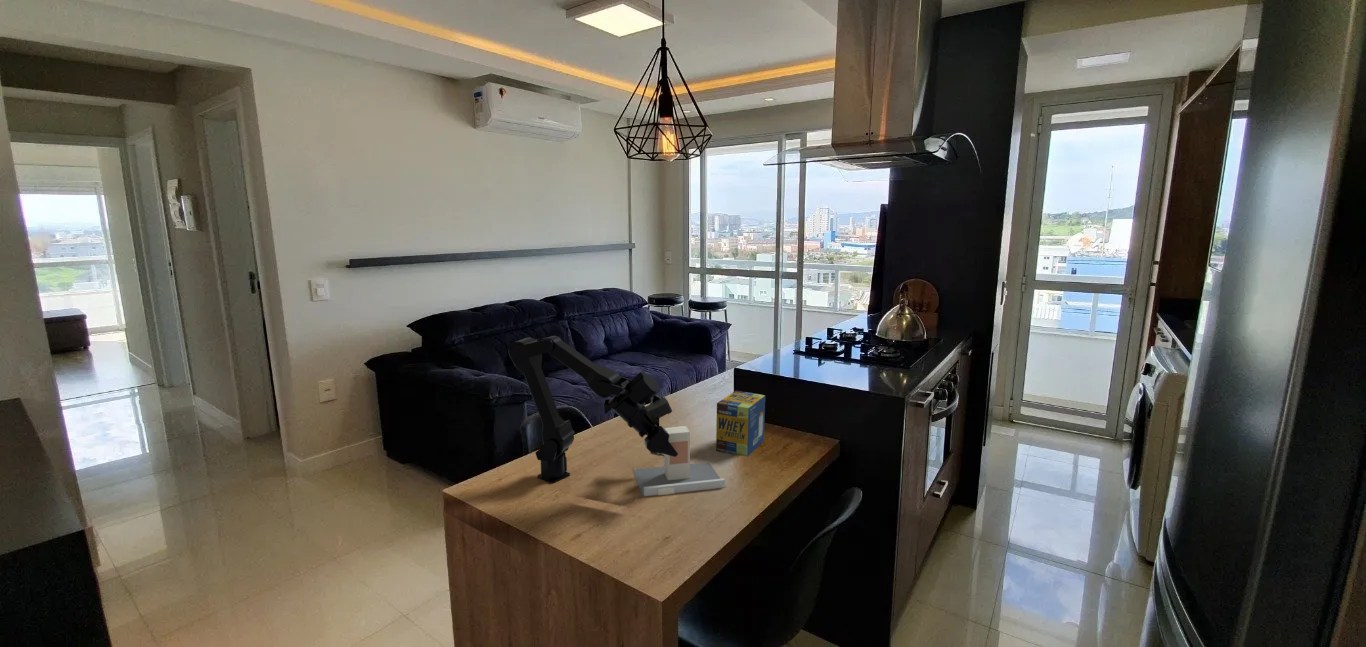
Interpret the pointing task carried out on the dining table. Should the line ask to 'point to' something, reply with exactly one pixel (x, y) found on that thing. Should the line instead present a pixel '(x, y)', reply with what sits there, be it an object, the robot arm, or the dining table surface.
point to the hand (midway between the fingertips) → (672, 448)
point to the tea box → (680, 463)
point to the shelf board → (677, 480)
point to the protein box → (740, 423)
